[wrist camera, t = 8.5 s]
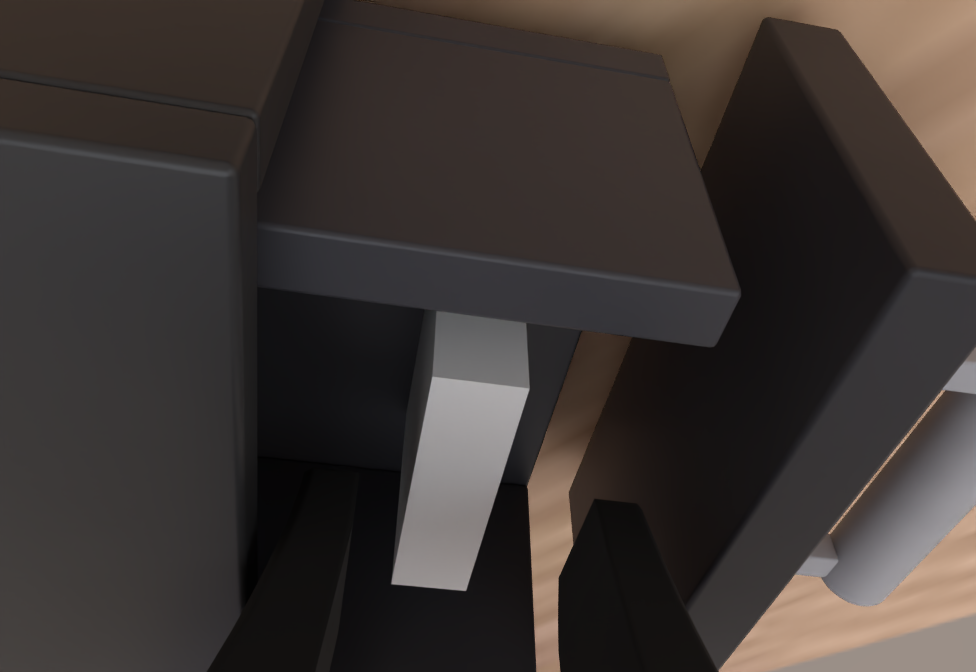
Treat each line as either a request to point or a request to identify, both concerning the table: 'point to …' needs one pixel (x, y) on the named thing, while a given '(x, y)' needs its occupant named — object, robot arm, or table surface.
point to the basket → (616, 314)
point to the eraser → (456, 443)
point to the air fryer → (132, 322)
